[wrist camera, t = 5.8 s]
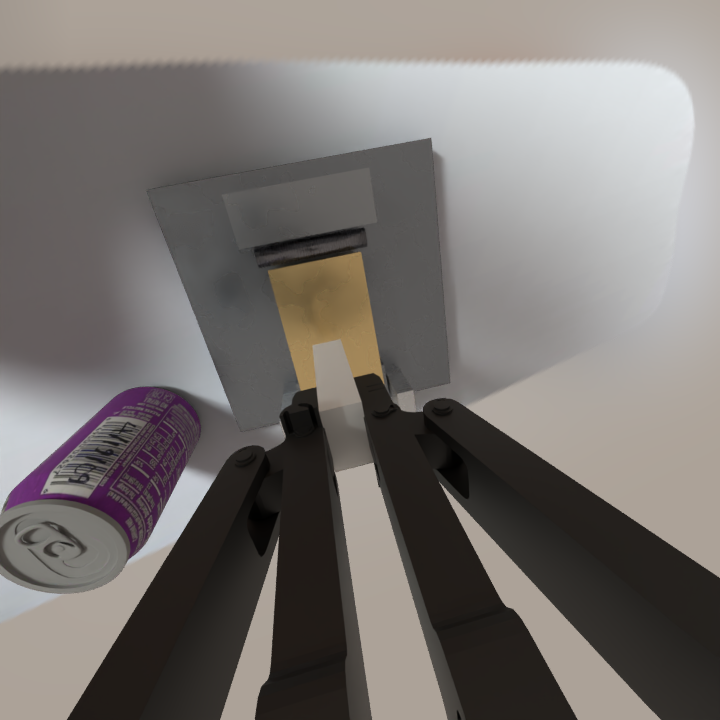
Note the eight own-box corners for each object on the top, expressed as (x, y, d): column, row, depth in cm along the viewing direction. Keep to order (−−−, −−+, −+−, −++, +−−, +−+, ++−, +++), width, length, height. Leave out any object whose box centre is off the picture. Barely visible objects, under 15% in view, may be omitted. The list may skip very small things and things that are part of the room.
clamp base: (243, 422, 29) (230, 464, 24) (156, 191, 21) (110, 182, 16) (443, 375, 30) (471, 406, 25) (423, 143, 23) (456, 119, 18)
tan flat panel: (303, 417, 26) (302, 433, 23) (255, 248, 21) (249, 249, 19) (391, 397, 26) (398, 411, 24) (362, 227, 22) (367, 225, 20)
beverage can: (88, 413, 26) (-69, 549, 15) (159, 365, 26) (49, 471, 15) (156, 469, 29) (65, 618, 18) (221, 427, 29) (168, 555, 18)
